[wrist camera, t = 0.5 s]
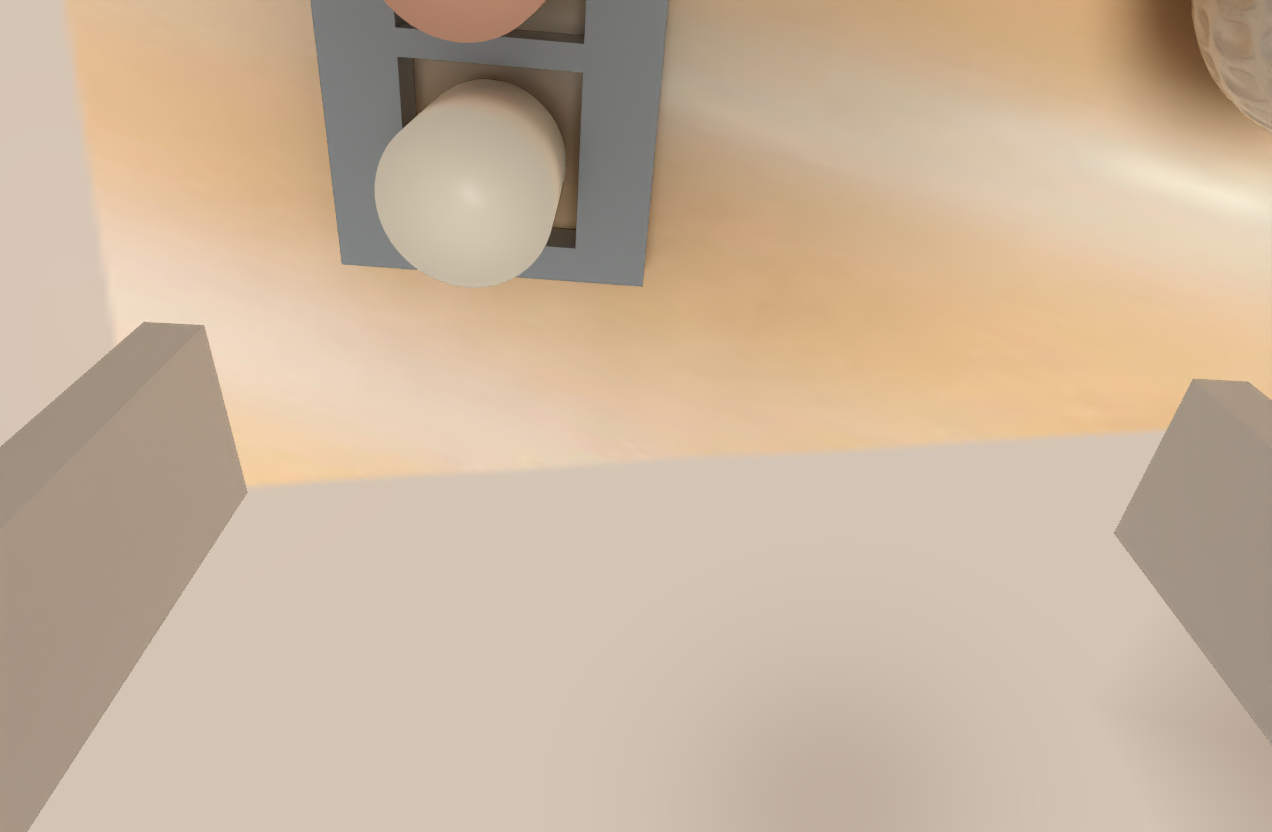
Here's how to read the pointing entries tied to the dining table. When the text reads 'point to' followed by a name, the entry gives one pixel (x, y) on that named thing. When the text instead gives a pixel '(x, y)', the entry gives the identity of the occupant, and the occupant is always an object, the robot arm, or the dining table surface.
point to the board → (607, 56)
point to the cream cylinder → (473, 184)
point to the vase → (1238, 52)
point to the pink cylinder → (465, 17)
